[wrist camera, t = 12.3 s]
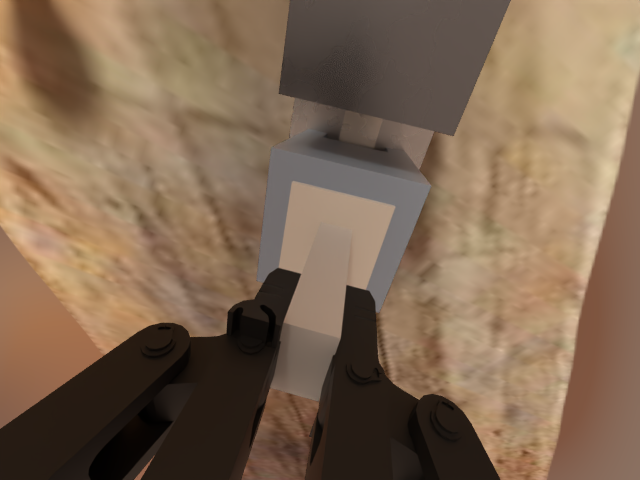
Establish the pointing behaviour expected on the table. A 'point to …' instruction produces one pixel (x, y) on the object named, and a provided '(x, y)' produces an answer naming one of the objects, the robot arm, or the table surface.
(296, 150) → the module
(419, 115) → the grey block holder
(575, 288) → the table surface
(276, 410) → the table surface
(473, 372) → the table surface
